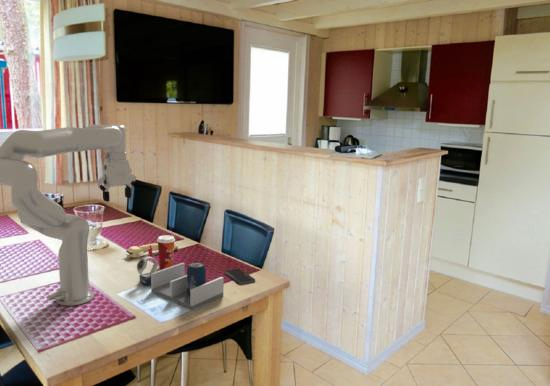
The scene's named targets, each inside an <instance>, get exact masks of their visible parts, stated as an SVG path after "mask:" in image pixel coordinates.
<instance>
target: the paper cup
mask: <svg viewBox="0 0 550 386" xmlns="http://www.w3.org/2000/svg"><path fill="white" fill-rule="evenodd" d="M175 241H176V240H175V239H174V237H173V236H172V235H170V234H169V235H167V234H165V235H160V236H158V237H157V239H156V242H157V243H158V250H157V251H158V263H159V270H163V269H166V268H169V267H171V266H174V253H175V252H174V251H175V249H174V246H175Z"/></svg>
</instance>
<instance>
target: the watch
mask: <svg viewBox="0 0 550 386" xmlns="http://www.w3.org/2000/svg"><path fill="white" fill-rule="evenodd" d="M151 259H152V260H153V265H152V267H151V269H150V272H147V273H144V274H143V272H144V271H145V269H147V265H148V262H149V260H151ZM157 268H158V261H157V260H156V259H155V258H154V257H152V256H151V257H150V255H149V256H144V257H143V258H140V259H139V261H138V262H137V264H136V270H137V272H138V275H139V283H140V284H141V285H143V286H144V287H145V288H147V287H150V286H151V273H154V272H157Z"/></svg>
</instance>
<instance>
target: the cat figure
mask: <svg viewBox="0 0 550 386" xmlns="http://www.w3.org/2000/svg"><path fill="white" fill-rule="evenodd" d="M171 236H173V237H174V239H175V241H176V240H177V238H176V236H175V235H174V234H171ZM178 250H179V247H178V245H177V244H176V245H175V244H174V251H178ZM155 251H158V242H157V243H155V242H154V243H148V244H147V242H146V241H145V242H144V243H143V244H142V245H140V246H137V245H136V246H135V245H134V246H130V247H129V248H128V249H126V251H125V252H126V254H125V256H126V258H128V259H130V258H140V259H141V256H142V255H144V254H145V253H148V255H149V256H150V257H152V256H153V252H155ZM127 253H128V254H127Z"/></svg>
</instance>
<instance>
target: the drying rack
mask: <svg viewBox="0 0 550 386" xmlns="http://www.w3.org/2000/svg"><path fill="white" fill-rule="evenodd" d="M185 264H186V263H185V262H180V263H178V264H175V265H174V264H173V266H171V267H169V268H166V269H163V270H162V269H159V270H158V271H157V270H156V271H155V272H154V273H151V287H150V288H151V289H150V290H151V293H153V294H156V295H158V296H160V297H162V298H164V299H166V300H168V301H171V302H173V303H176V304H177V305H180V306H182V307H184V308H187V309H189V310H192V311H193V310H195V309H198V308H199V307H202V306H204V305H206V304H208V303H211V302H213V301H215V300H217V299H219V298H221V297H223V296H224V286H225V285H224V284H225V283H224V276H220V277H218V278H215V279H212V280H210V281H207V282H206V283H205V284H203V285H200V286H198V287H195V288H193V289H191V290H190V296H189V295H188V293H187V274H185V273H186V271H185V270H186V269H185V266H186V265H185Z"/></svg>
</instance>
